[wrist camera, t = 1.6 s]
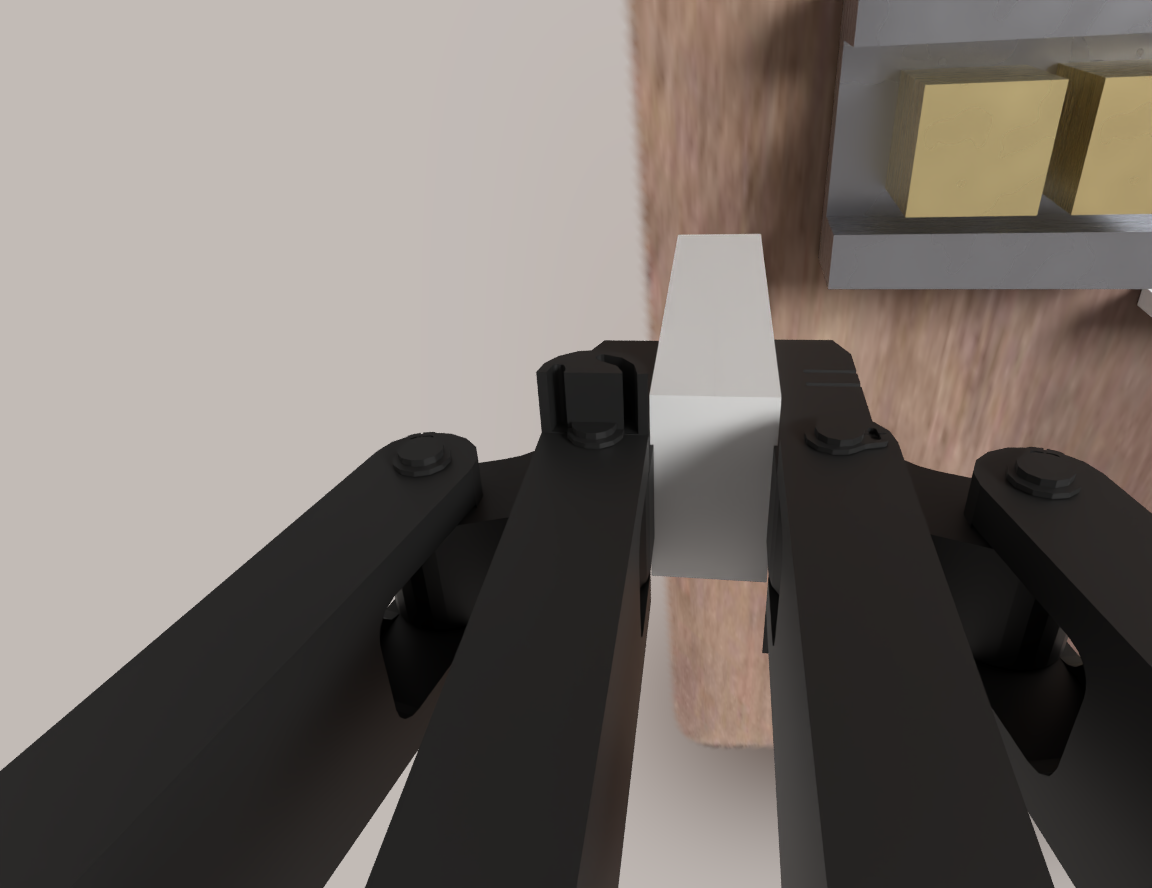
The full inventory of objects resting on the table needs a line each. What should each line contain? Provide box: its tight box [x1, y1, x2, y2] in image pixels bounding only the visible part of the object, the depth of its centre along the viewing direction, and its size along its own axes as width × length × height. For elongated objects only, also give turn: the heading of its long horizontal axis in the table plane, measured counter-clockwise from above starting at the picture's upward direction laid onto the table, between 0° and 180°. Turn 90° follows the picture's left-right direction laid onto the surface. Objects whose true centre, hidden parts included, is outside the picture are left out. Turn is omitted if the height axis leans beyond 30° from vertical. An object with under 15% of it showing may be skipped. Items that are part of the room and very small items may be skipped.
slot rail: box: [818, 0, 1152, 289], centre depth 27 cm, size 10×12×4 cm
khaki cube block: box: [1042, 59, 1152, 215], centre depth 26 cm, size 4×4×4 cm
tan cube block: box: [885, 64, 1069, 217], centre depth 27 cm, size 4×4×4 cm
